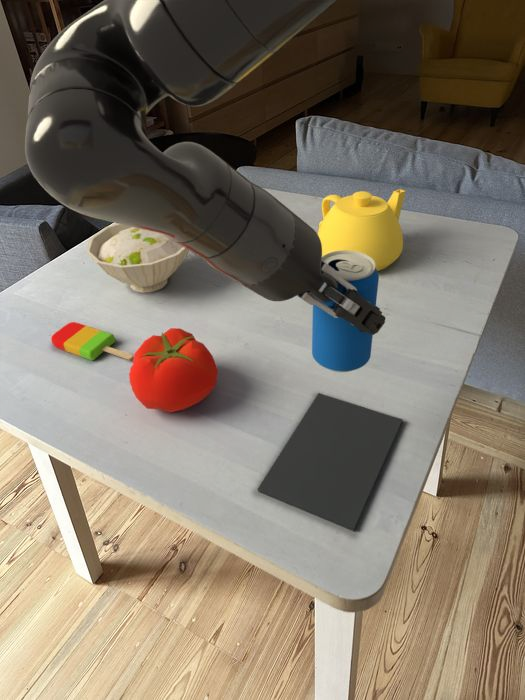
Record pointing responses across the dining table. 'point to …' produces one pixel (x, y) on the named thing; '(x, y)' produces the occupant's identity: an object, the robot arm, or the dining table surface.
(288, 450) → the place mat
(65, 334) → the popsicle
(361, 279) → the beverage can
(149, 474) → the dining table surface
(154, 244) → the bowl
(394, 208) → the teapot
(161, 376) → the tomato
